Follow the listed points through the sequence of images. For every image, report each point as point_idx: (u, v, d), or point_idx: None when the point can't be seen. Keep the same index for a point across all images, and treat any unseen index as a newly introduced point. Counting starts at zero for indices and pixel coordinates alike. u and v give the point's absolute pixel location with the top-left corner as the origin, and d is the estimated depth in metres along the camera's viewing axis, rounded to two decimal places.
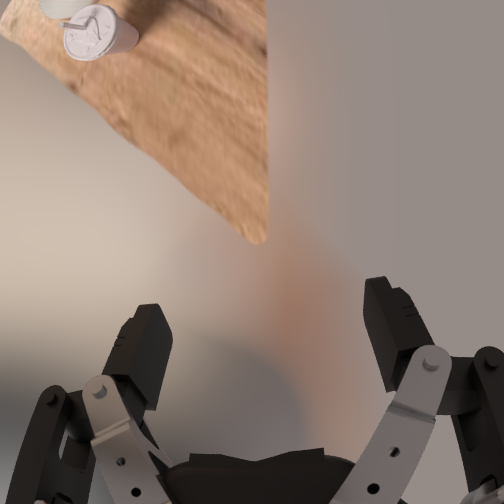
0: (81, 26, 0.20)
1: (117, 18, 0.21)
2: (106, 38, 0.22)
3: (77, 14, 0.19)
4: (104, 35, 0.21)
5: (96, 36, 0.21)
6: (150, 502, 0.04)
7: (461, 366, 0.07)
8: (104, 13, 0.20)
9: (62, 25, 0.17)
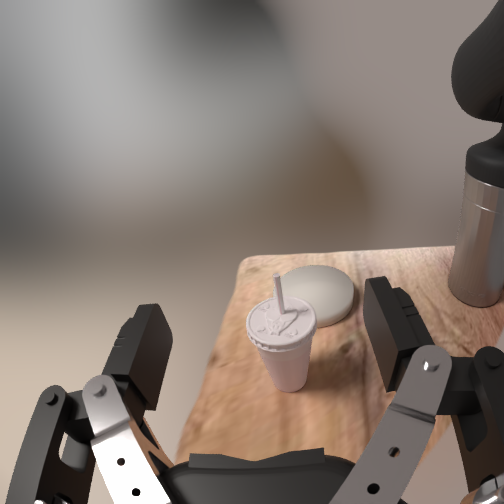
0: (283, 305, 0.27)
1: (310, 336, 0.25)
2: (284, 340, 0.25)
3: (292, 298, 0.29)
4: (285, 336, 0.25)
5: (280, 328, 0.26)
6: (150, 502, 0.04)
7: (461, 366, 0.07)
8: (307, 320, 0.26)
9: (276, 276, 0.25)
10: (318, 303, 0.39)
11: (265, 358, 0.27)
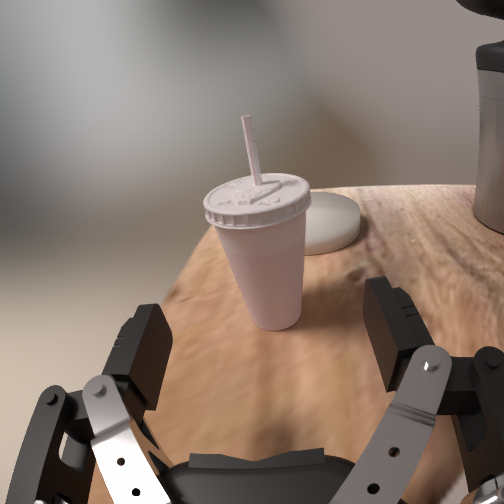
0: (258, 169, 0.18)
1: (301, 209, 0.16)
2: None
3: (274, 174, 0.20)
4: (261, 204, 0.16)
5: (253, 197, 0.17)
6: (150, 502, 0.04)
7: (461, 366, 0.07)
8: (296, 191, 0.17)
9: (245, 118, 0.16)
10: (315, 224, 0.30)
11: (232, 257, 0.18)
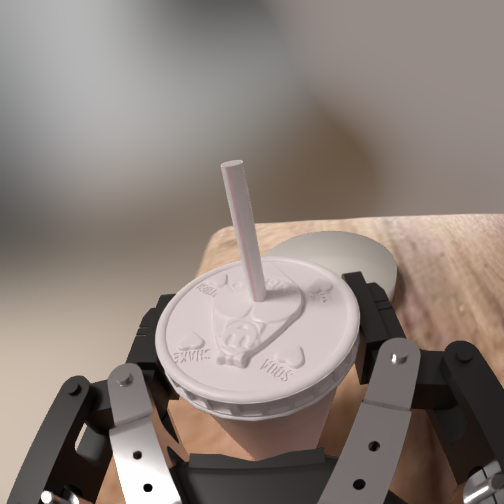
0: (259, 273, 0.09)
1: (344, 370, 0.08)
2: (258, 383, 0.07)
3: (287, 261, 0.11)
4: (264, 371, 0.07)
5: (249, 344, 0.08)
6: (160, 499, 0.04)
7: (432, 360, 0.07)
8: (334, 320, 0.09)
9: (230, 168, 0.07)
10: None
11: (214, 418, 0.09)
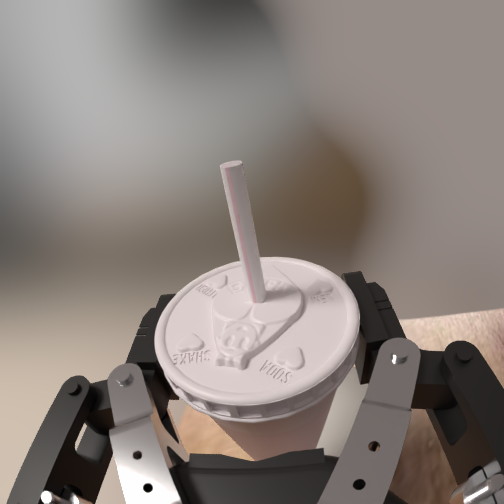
0: (258, 274, 0.09)
1: (344, 371, 0.08)
2: (258, 386, 0.07)
3: (287, 262, 0.11)
4: (264, 372, 0.07)
5: (248, 346, 0.08)
6: (160, 499, 0.04)
7: (432, 360, 0.07)
8: (334, 322, 0.09)
9: (230, 169, 0.07)
10: None
11: (214, 419, 0.09)
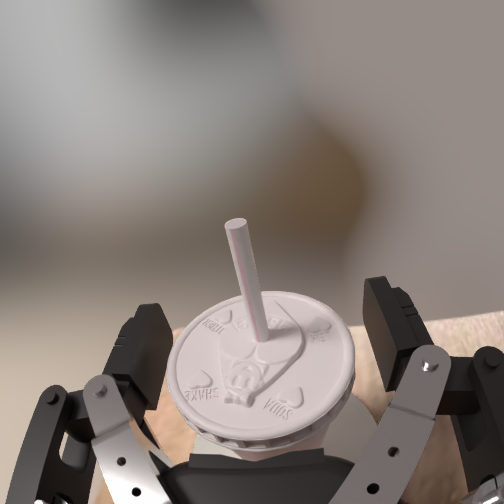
0: (262, 318, 0.09)
1: (339, 406, 0.08)
2: (262, 421, 0.08)
3: (288, 297, 0.12)
4: (267, 410, 0.08)
5: (253, 385, 0.08)
6: (150, 502, 0.04)
7: (460, 366, 0.07)
8: (331, 360, 0.09)
9: (234, 228, 0.08)
10: None
11: None
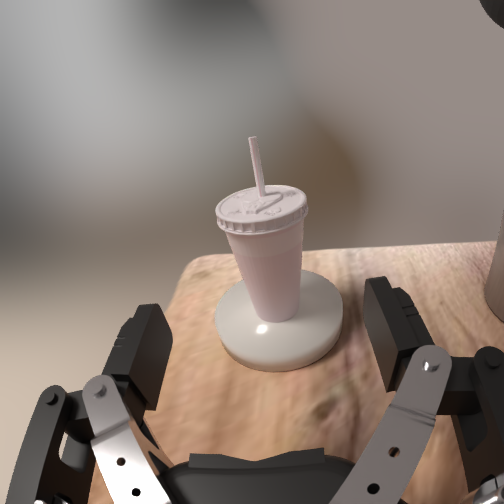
0: (262, 183, 0.21)
1: (299, 218, 0.20)
2: None
3: (275, 186, 0.23)
4: (265, 214, 0.19)
5: (258, 207, 0.20)
6: (150, 502, 0.04)
7: (461, 366, 0.07)
8: (295, 202, 0.21)
9: (252, 139, 0.19)
10: (282, 332, 0.23)
11: (240, 257, 0.21)
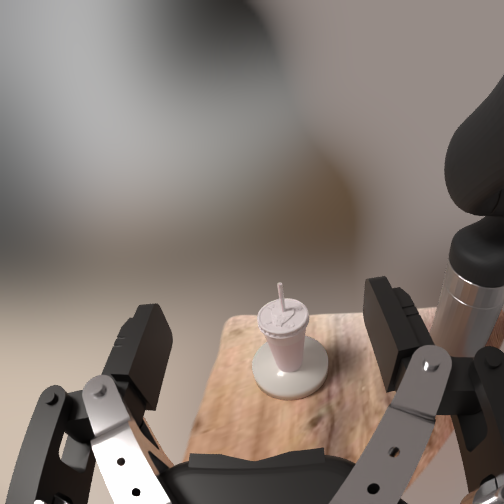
0: (284, 305, 0.37)
1: (303, 327, 0.36)
2: (284, 330, 0.35)
3: (290, 300, 0.39)
4: (286, 327, 0.36)
5: (282, 321, 0.36)
6: (150, 502, 0.04)
7: (461, 366, 0.07)
8: (302, 316, 0.37)
9: (279, 285, 0.36)
10: (292, 378, 0.40)
11: (271, 344, 0.38)
